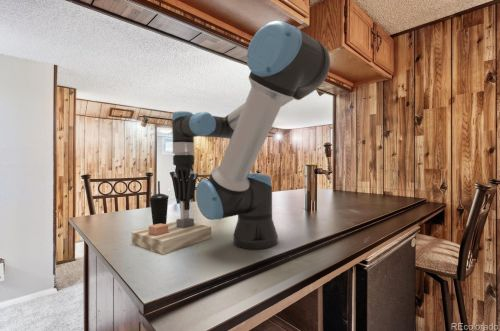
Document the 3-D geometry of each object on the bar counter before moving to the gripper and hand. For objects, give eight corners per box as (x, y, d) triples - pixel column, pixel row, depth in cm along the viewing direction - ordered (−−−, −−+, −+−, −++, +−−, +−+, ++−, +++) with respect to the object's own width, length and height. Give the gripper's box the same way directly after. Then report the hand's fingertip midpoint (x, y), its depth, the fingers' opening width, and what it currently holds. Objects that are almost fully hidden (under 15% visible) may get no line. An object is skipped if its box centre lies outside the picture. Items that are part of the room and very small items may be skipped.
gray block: (193, 232, 92) (193, 218, 92) (184, 235, 89) (184, 221, 89) (186, 230, 95) (186, 217, 95) (176, 233, 91) (176, 219, 91)
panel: (211, 237, 90) (211, 226, 90) (162, 254, 74) (162, 241, 74) (180, 230, 101) (179, 220, 101) (131, 243, 85) (131, 232, 85)
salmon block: (168, 239, 83) (168, 225, 83) (156, 243, 80) (156, 227, 80) (160, 237, 86) (160, 223, 86) (148, 241, 82) (148, 226, 82)
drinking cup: (163, 232, 98) (162, 181, 98) (145, 231, 99) (144, 182, 99) (173, 227, 105) (172, 180, 105) (156, 227, 107) (155, 180, 107)
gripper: (203, 154, 91) (204, 218, 91) (180, 155, 98) (182, 214, 99) (186, 153, 85) (188, 222, 85) (164, 155, 92) (165, 218, 93)
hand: (184, 218), depth 92 cm, fingers closed
